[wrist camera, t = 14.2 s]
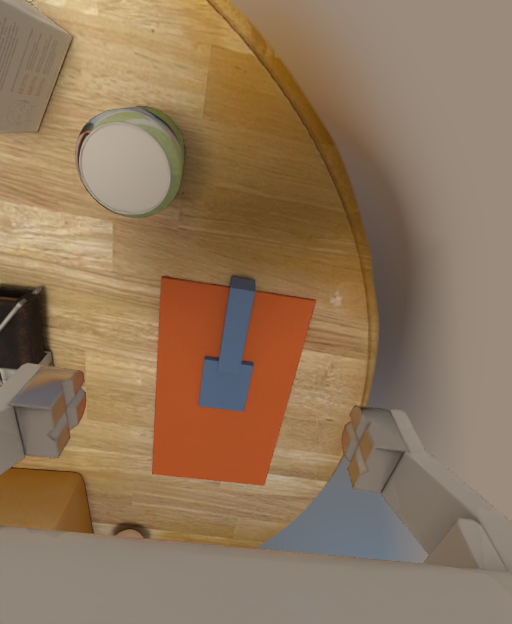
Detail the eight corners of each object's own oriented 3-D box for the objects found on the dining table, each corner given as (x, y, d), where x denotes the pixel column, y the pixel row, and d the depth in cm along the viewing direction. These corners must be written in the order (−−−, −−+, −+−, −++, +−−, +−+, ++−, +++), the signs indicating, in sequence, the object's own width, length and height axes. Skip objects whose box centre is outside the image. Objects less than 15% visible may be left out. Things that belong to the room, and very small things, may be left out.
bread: (-11, 465, 47) (-114, 595, 34) (84, 471, 48) (20, 601, 35) (23, 561, 58) (-44, 686, 45) (100, 565, 59) (56, 689, 46)
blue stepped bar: (215, 273, 34) (212, 284, 32) (270, 282, 35) (272, 294, 32) (198, 401, 42) (195, 418, 39) (244, 407, 42) (243, 424, 40)
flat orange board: (162, 276, 35) (161, 277, 34) (315, 299, 36) (316, 301, 36) (152, 471, 48) (152, 474, 48) (264, 483, 50) (264, 485, 49)
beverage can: (120, 96, 27) (38, 72, 17) (210, 128, 28) (185, 125, 18) (111, 175, 30) (35, 199, 20) (192, 202, 31) (163, 238, 21)
